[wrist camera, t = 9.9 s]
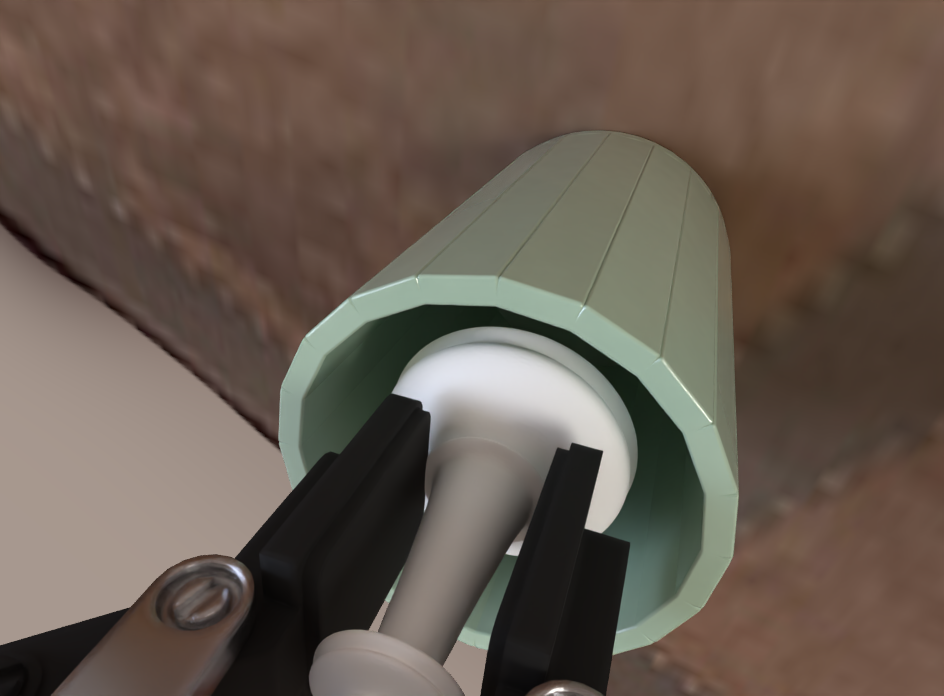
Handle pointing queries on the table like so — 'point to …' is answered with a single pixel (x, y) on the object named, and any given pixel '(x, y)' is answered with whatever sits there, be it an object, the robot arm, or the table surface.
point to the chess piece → (479, 494)
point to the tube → (580, 329)
